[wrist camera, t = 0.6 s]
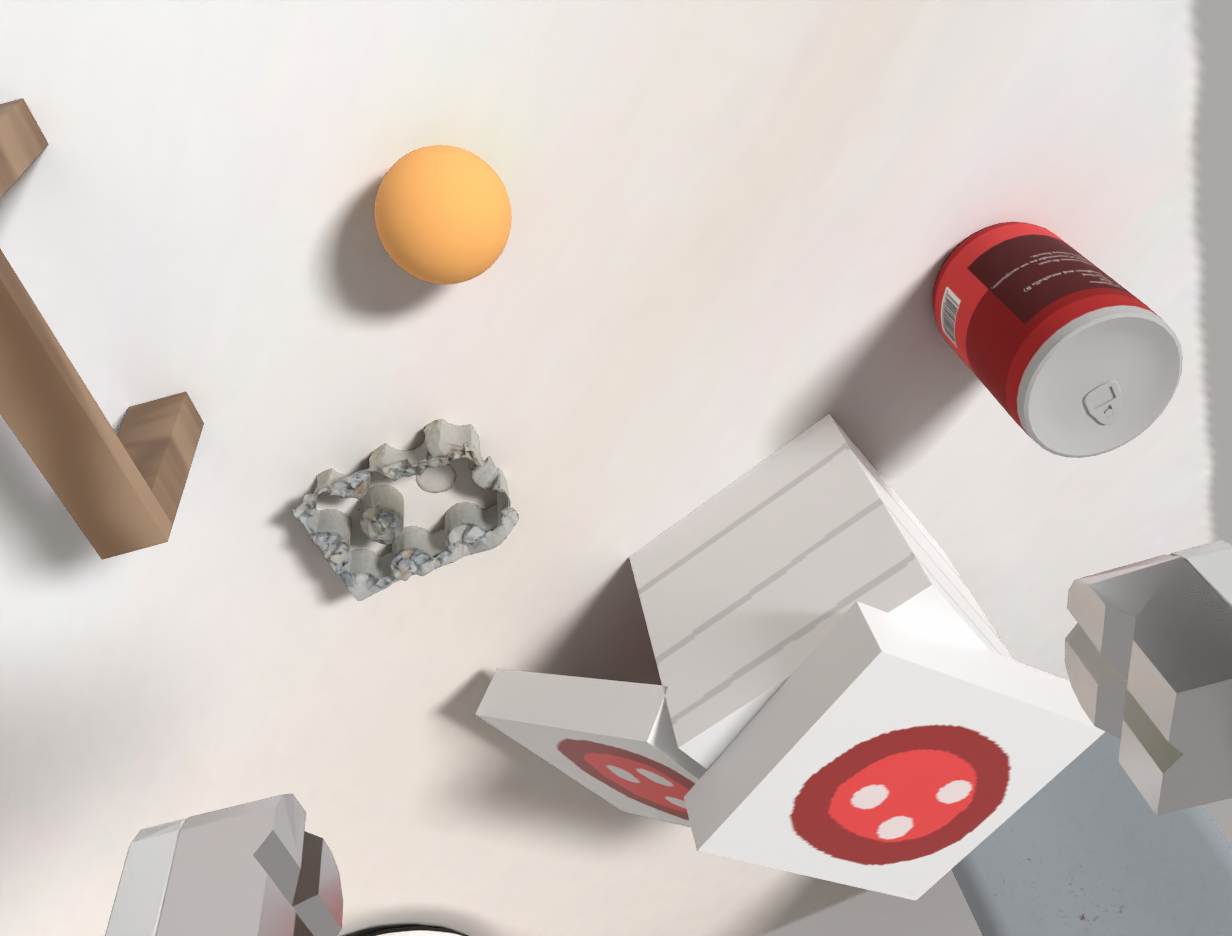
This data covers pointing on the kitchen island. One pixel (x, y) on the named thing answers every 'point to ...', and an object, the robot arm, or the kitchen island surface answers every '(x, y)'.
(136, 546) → the bridge
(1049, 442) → the canned food
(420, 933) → the milk container
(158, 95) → the kitchen island surface
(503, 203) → the ball
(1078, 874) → the flask
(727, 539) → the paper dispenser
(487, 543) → the egg carton
